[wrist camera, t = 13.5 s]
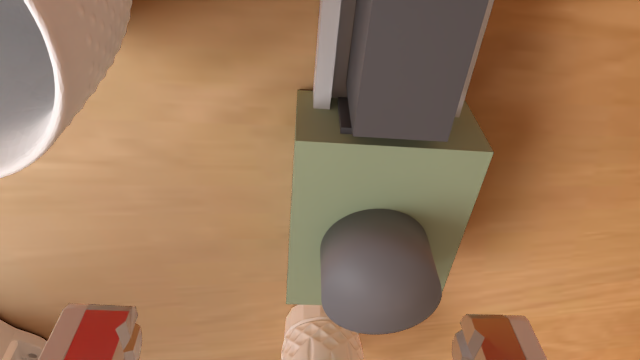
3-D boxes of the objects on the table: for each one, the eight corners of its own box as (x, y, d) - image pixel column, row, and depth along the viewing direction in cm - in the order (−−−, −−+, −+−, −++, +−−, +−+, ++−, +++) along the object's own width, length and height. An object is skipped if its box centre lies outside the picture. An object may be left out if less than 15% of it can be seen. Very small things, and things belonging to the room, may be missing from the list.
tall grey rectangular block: (458, -50, 24) (494, -18, 20) (425, 89, 29) (447, 142, 25) (363, -58, 24) (376, -28, 19) (345, 84, 29) (352, 136, 24)
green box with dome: (420, 249, 39) (448, 359, 31) (288, 244, 39) (283, 354, 31) (522, -91, 24) (627, -47, 16) (308, -111, 23) (308, -74, 15)
